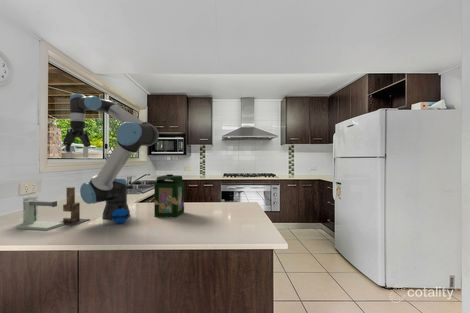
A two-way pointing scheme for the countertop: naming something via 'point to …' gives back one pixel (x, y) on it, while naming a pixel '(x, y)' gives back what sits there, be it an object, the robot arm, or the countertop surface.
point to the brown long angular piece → (71, 206)
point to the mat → (76, 222)
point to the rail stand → (30, 217)
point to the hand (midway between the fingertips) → (77, 157)
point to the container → (168, 196)
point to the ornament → (119, 215)
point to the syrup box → (34, 198)
